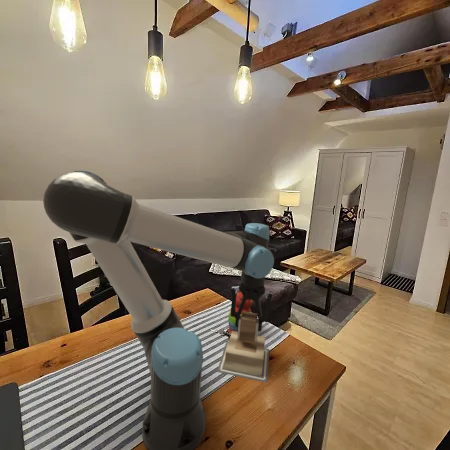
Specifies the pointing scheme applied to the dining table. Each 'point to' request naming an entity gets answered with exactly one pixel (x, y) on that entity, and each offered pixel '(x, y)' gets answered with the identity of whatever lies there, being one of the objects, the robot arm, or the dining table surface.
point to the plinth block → (245, 355)
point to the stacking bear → (232, 319)
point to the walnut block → (248, 327)
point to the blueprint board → (245, 375)
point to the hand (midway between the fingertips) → (247, 337)
